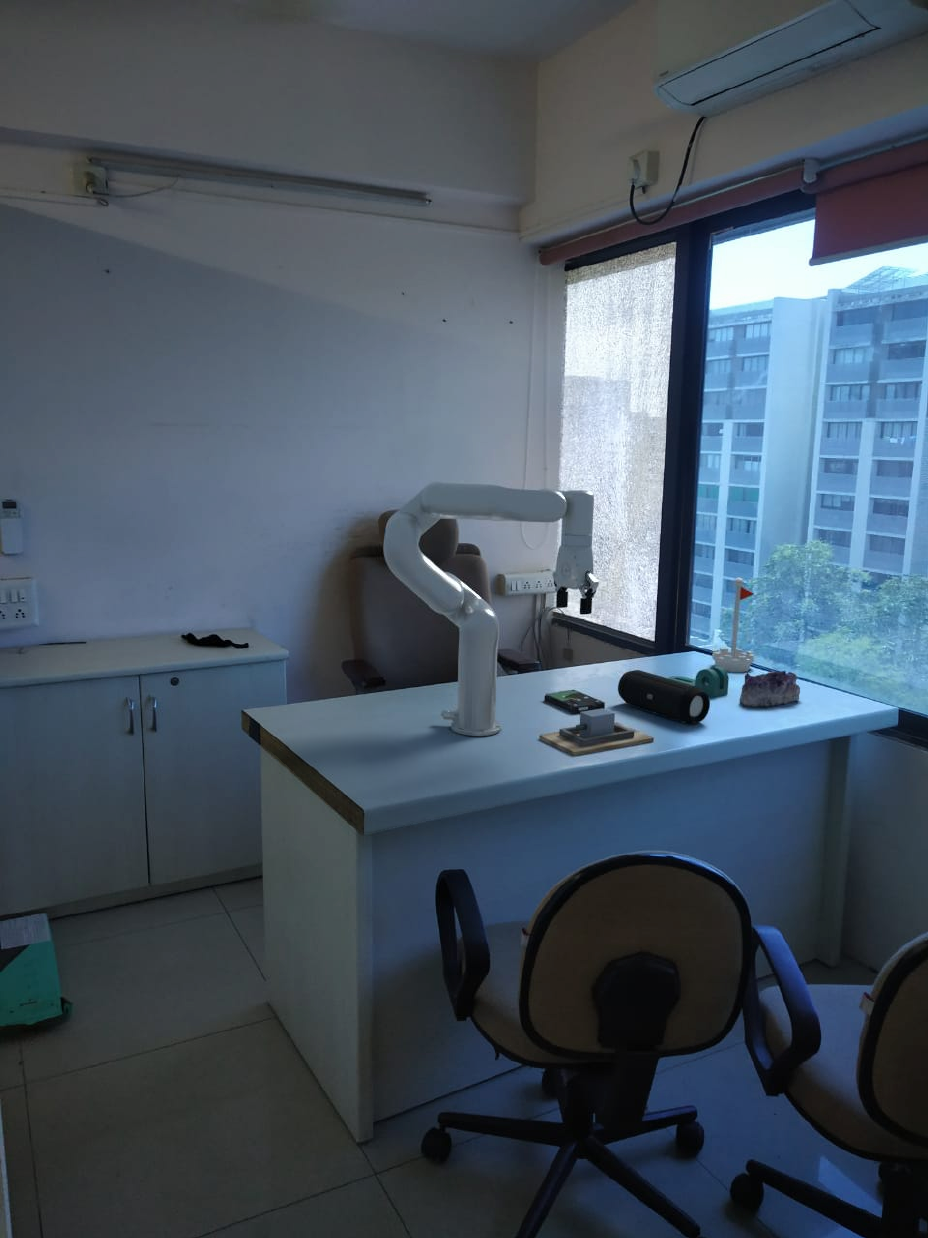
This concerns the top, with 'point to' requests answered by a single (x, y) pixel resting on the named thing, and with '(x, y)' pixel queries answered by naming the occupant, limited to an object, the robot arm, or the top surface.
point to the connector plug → (596, 723)
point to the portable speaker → (664, 696)
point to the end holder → (595, 740)
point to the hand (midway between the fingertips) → (573, 610)
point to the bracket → (708, 681)
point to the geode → (769, 689)
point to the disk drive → (573, 701)
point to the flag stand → (735, 640)
